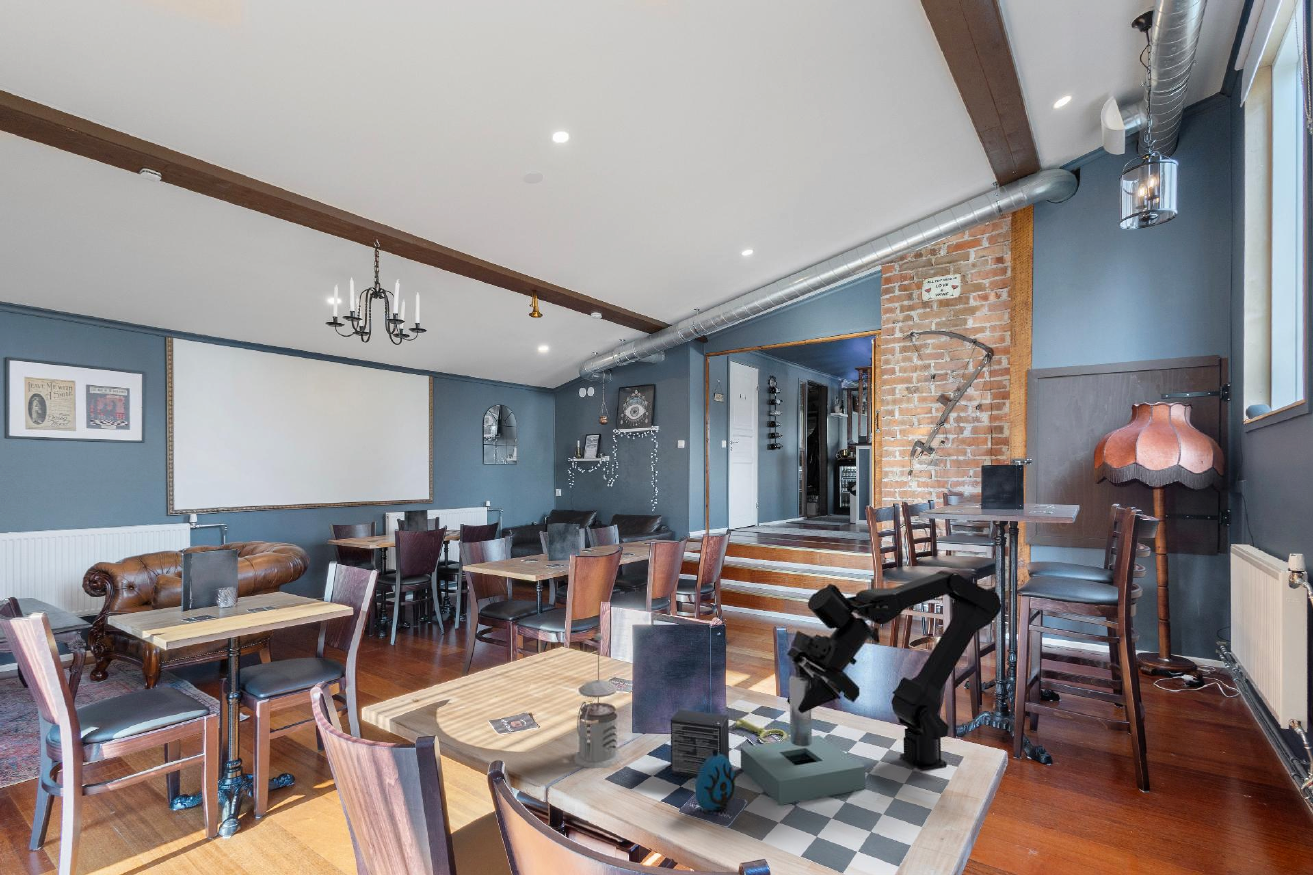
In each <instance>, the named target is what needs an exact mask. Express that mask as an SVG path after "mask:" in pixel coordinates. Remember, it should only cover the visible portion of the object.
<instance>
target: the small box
mask: <svg viewBox="0 0 1313 875" xmlns="http://www.w3.org/2000/svg"><path fill="white" fill-rule="evenodd" d="M729 717H730V716H729V714H719V713H713V712H703V711H702V712H701V711H697V710H696V711H694V710H686V709H678V711H677V712H676V713H675V714H673V716H672V717H671V718H670V720H669V721H670V775H675V776H680V777H689V778H695V779H697V776H698V773H699V770H700V768H701V766H702V765H703V763H704V762H705V760H706V759H707V758H708V757H710V756H711V755H713V750H714V749H716V750H717V751H718V754H722V755H724V756H725V757H726V758H727V759H728V760H729V761H730V739H729V738H730V736H729V735H730V732H729V731H730V730H729V729H730V727H729V726H730V725H729V722H730V721H729V719H730V718H729Z"/></svg>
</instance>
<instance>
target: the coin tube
mask: <svg viewBox="0 0 1313 875" xmlns="http://www.w3.org/2000/svg"><path fill="white" fill-rule="evenodd" d="M788 684H789V687H788V688H789V689H788V690H789V694H790V704H789V726H790V727H789V728H790V729H789V731H790V732H789V733H790V738H789V739H790V740H791V743H792V744H794V745H797V746H809V745H811V744H812V736H813V730H812V729H813V728H812V723H813V722H812V709H811V710H808V711H806V712H804V713H801V712H799V711H798V707H799V705H800V704H801V702H802V700H803V699H804V697H805V696H806V694H807V693H808V691H809V690H810V688H811V678H810V677H808V676H806V675H796V674H792V675H790V676H789V677H788Z"/></svg>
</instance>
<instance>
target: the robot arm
mask: <svg viewBox="0 0 1313 875" xmlns="http://www.w3.org/2000/svg"><path fill="white" fill-rule="evenodd" d="M945 595H946V596H947V597H949V598H950V599H951V600H953V601H952V604H951V611H952V612H951V613H952V614H951V615H952V617H951V620H950V622H949V624H948V625H947V627H946V628H945V630H944V632H943V633H942V634H941V637H940V638H939V640H938V641H937V643H936V645H935V647H934V648H933V649H932V651H931V653H930V655H929V656H928V658H927V660H926V661H925V662H924V665H923V666H922V668H921V669H920V671H919V673H917V676H914V677H913V678H911V679H909V678H907V677H904V676H903V677H902V679H900V681H899V683H898V685H897V687H896V688H895V690H893V691H892V694H893V697H892V699H891V703H890V704H891V706H892V711H893V713H894V714H895V716H897V719H898V722H899V724H901V725H903V726H905V727H906V728H904V737H903V753H899V757H900V759H903V760H904V761H906V762H907V763H909V764H911V765H912V766H914V767H916V768H918V769H919V770H922V771H923V770H930V769H935V768H940V767H945V766H948V762H947V761H945V760H944V759H942V749H941V748H942V745H941V742H942V741H941V739H942V738H946V737H947V734H948V733H949V732H948V731H949V727H950V726H949V725H948V724H947V723H946V722H945V720H943V719H942V718H941V716H939V715H938V714H939V712H940V710H941V707H942V704H941V692H942V690H943V688H944V686H945V685H946V683H947V681H948V680H949V678H950V676H951V674H952V673H953V671H954V669H955V667H956V666H957V664H958V663H959V661H960V659H961V658H962V656H963V654H964V653H965V651H966V650H967V648H968V646H969V644H970V643H971V641H972V639H973V637H974V636H975V634H976V633H978V631H980V630H982V629H984V628H986V627H987V626H989V625H990V624H992V623H993V621H994V620H995V619H996V618H997V616H998V615H999V614H1000V612H1001V609H1002V604H1001V598H1000V596H999V595H998V593H997V592H996V591H995V590H991V589H987V588H984V587H982V586H980V585H978V584H977V583H975V582H972V581H970V580H969V579H966V578H965V577H963V576H962V575H961V574H960V573H957V572H954V571H949V570H944V569H943V570H939V571H937V572H936V573H934V574H930V575H928V576H925V577H922V578H918V579H915V580H912V581H909V582H907V583H904V584H903V583H902V584H901V585H897V586H895V587H888V588H887V587H886V588H883V587H882V588H879V587H878V588H869V589H862V590H861V591H858V592H857V593H856V594H855V595H854V596H849V597H846V596H845V595H844V594H843V593H842V592H841V591H840V589H839V587H837V586H836V585H835V584H831V583H829V584H828V585H827V586H826V587H823V588H821V589H819V590H818V591H817V592H815V593H813V594H812V595H811V596H810V598H809V600H808V602H807V608H808V609H809V611H811V612H812V613H813V614H814V615H815V616H816V618H817V619H819V621H821V622H822V624H824V625H825V627H826V628H827V629H830V630H831V629H835V630H834V631H833V632H832V633H831V634H830V636H826V635H823V636H822V635H819V634H816V635H814V636H811V635H808V634H806V633H804V632H802V631H800V630H797V631H796V632H795V635H794V639H792V640H793V641H792V644H791V648H790V649H789V651H787V654H786V657H788V658H789V659H790V660H791V661H792V662H793V666H794V669H795V675H806V676H808V677H810V678H811V688H810V690H809V691H808V693H807V694H806V696H805V697H804V699H803V700H802V702H801V704H800V705H799V707H798V711H799V712H801V713H804V712H806V711H808V710H811V711H812V709H815V708H817V707H820V706H823V705H824V704H826V703H829V702H831V701H834V700H841V698H842V697H841V695H840V693H843V697H844V698H845V699H846V700H847V701H850V702H851V703H853V704H855V702H856V700H857V699H858V698H859V697H860V687H859V686H858V685H857V684H856V683H855V682H854V681H853V679H852V678H850V677H849V675H847V673H845V672H844V671H845V670H846V668H847V667H848V666H849V664H851V665H853V666H854V665H855V664H856V663H857V661H858V660H856V658H855V656H857V654H858V653H859V651H860V650H861V649H862V647H863V646H864V645H865V644H866V643H867V641H868V640H869V641H871V642H874V643H877V644H879V643H880V636H879V628H877V627H875V626H872V625H869V623H867V622H866V621H865V620H867V621H869V622H872V623H875V624H877V625H886V624H888V623H890V622H892V621H893V620H894V619H896V618H898V617H900V616H901V613H903V611H905V610H906V609H908V608H910V607H914V606H917V605H920V604H922V603H925V602H928V601H931V600H935V599H937V598H940V597H943V596H945ZM853 613H854V614H856V615H857V616H858V617H856V616H855V615H854V614H853ZM786 702H787V703H788V705H790V693H789V694H788V698H787V700H786Z"/></svg>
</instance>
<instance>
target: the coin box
mask: <svg viewBox="0 0 1313 875" xmlns="http://www.w3.org/2000/svg"><path fill="white" fill-rule="evenodd" d="M810 759H813V760H814V762H808V763H803V764H795V763H793V762H798V761H804V760H810ZM740 769H741V771H743V772H744V773H745V774H746V775H747V776H748V777H749V778H751V779H752V781H754V782H755V783H756V784H757V785H758V786H759V787H760V788H761V789H762V790H763V791H764V792H765V793H766V794H767V795H768V796H769V797H770V798H772V800H773V801H775V802H776V804H778V805H779V806H784V805H787V804H792V803H797V802H803V801H807V800H808V801H809V800H814V799H819V798H823V797H824V798H825V797H829V796H833V795H834V796H836V795H839V794H844V793H850V792H855V791H860V790H866V788H867V786H866V785H867V784H866V765H864V764H862V763H861V762H860V761H858V760H857V759H855V758H854V757H853V756H851V755H849V754H848V753H846V752H845V751H843V750H842V749H841V748H839V747H837V746H836V745H834V744H833V743H831V742H830V741H829V740H828V739H825V738H824V737H822V736H821V735H819V734H817V735H812V744H811V745H809V746H797V745H794V744H792V743H791V739H786V740H785V741H778V742H772V743H766V744H763V743H761V744H759V743H758V744H753V745H747V746H741V747H740Z"/></svg>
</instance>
